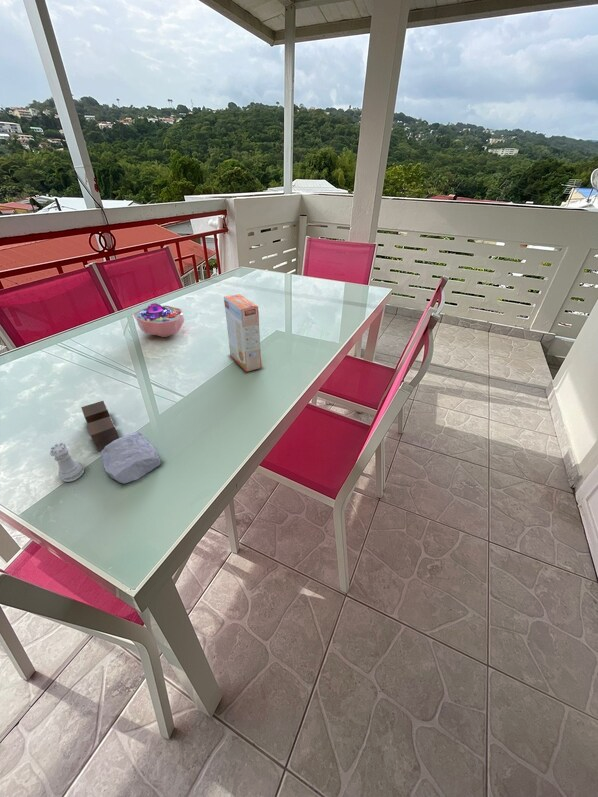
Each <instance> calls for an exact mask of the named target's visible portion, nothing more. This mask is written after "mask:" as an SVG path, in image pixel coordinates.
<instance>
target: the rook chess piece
mask: <svg viewBox="0 0 598 797" xmlns="http://www.w3.org/2000/svg"><path fill="white" fill-rule="evenodd" d="M69 450H70V446H69V445H68V444H65V443H63V442H59V444H58V443H55V444H54V445H52V446H50V452H49V455H50V456H51V457H54V461H56V462H57V464H58V467H59V468H58V477H59V479H60V481H62V482H65V483H71V482H75V481H77V480H79V479H80V478H81V477H82V476H83V474H84V472H85V467H84V466H83V465H82V464H81V463H80V462H78V461H77V460H75V459H74V458H73V456H72V455H71V454H72V453H71V452H70V451H69Z"/></svg>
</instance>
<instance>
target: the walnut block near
mask: <svg viewBox="0 0 598 797" xmlns="http://www.w3.org/2000/svg"><path fill="white" fill-rule="evenodd" d="M86 426H87V429H88V433H89V435H90V437H91V439H92V442H93V444H94V446H95V449H96V451H97V452H102V450H103V449H104V448H105V446H107V445H108V444H110V443H111V442H113V441H114V440H117V439H119V438H120V435H119V434H118V431H117V428H116V425H115V424H114V422H113V419H112V417H111V415H110V416H109V417H106V418H103V419H100V420H97V421H94V422H91V423H88V424H87V423H86Z"/></svg>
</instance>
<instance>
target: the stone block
mask: <svg viewBox="0 0 598 797" xmlns="http://www.w3.org/2000/svg"><path fill="white" fill-rule="evenodd" d="M100 456H101V458H102V465H103V468H104V470H105V472H106V473H107V474H108V475H109V476H110V478H111V479H113V480H115V481H117V482H118V483H120V484H128V483H131V482H134V481H137V480H139V479H141V478H142V477H143V476H145V475H147V474H148V473H150V472H152V471H153V470H154V469H156V468H158V467H160V466H161V463H162V462H161V460H160V456H159V454H158V452H157V450H156V449H155V447H154V446H153V445H152V444H151V443H150V441H148V440H147V439H146V437H145V436H144V434H143V433H142V431H140V430H139V431H136V432H132V433H129V434H127V435H124V436H121V437H119V439H117V440H114V441H113V442H111V443H110V444H108V445H107V446H105V448H104V449H103V450H101V451H100Z"/></svg>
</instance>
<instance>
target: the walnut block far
mask: <svg viewBox="0 0 598 797" xmlns="http://www.w3.org/2000/svg"><path fill="white" fill-rule="evenodd" d="M81 411H82V413H83V417H84V419H85V421H86V425H87V424H88V423H91V422H94V421H97V420H100V419H103V418H106V417H109V416H110V417H111V415H110V412H109V410H108V408H107V406H106V403H105V401H104V400H100V401H96V402H94V403H90V404H87V405H83V406H81Z"/></svg>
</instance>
